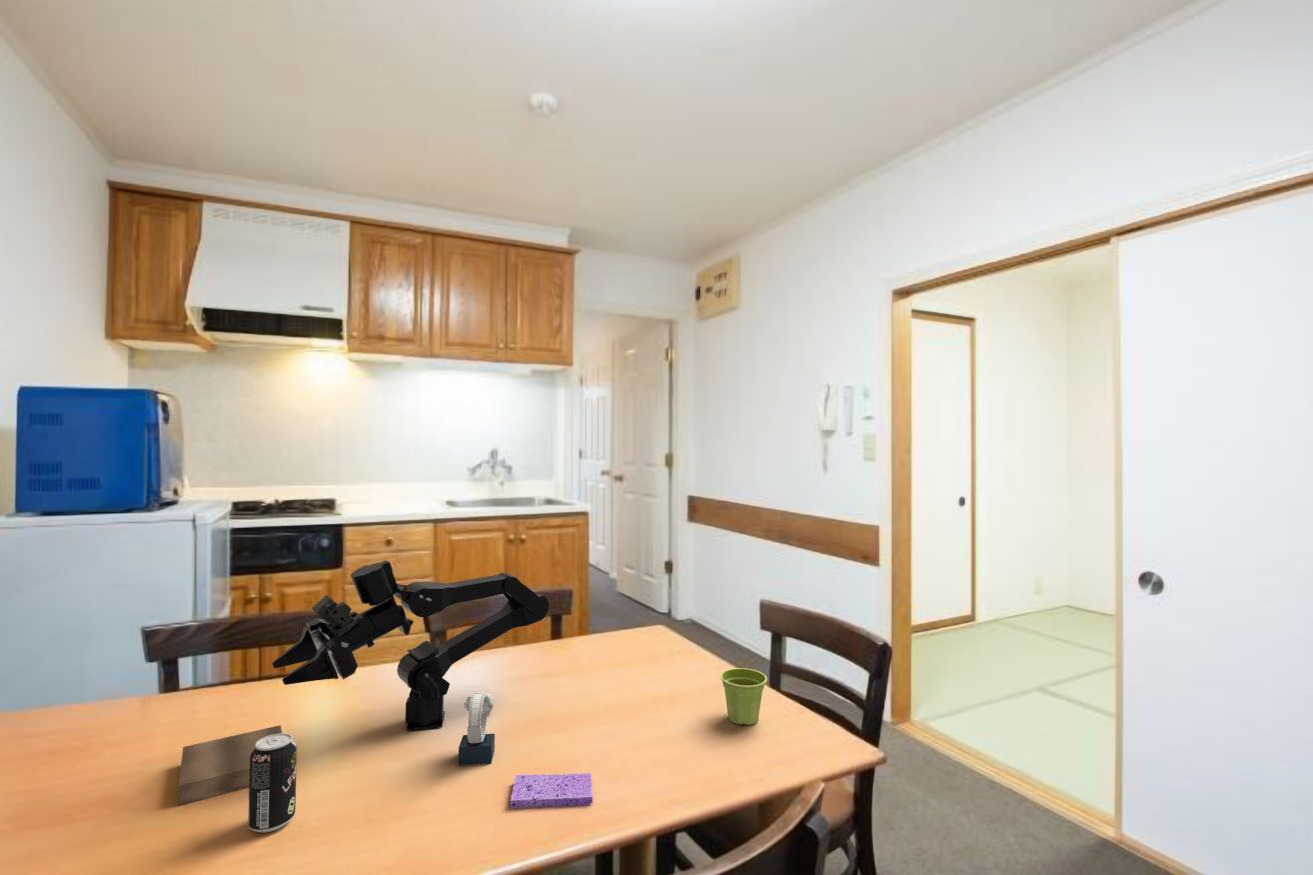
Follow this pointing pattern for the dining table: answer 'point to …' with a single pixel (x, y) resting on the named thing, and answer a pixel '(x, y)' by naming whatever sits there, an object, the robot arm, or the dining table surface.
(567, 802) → the sponges
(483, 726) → the watch
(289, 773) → the beverage can
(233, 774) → the walnut block
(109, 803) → the dining table surface
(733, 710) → the plant pot
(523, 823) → the dining table surface
